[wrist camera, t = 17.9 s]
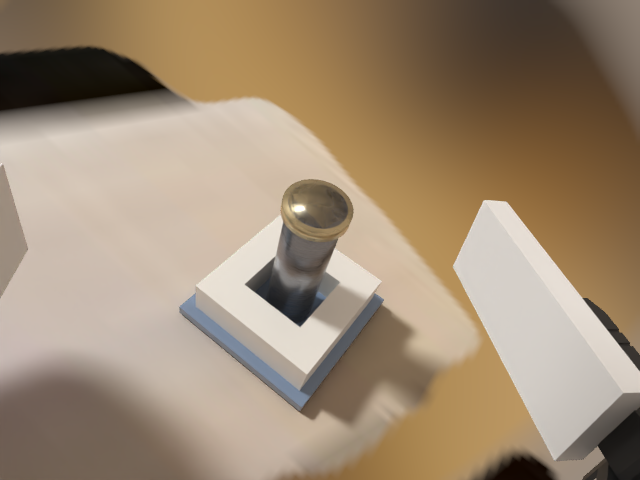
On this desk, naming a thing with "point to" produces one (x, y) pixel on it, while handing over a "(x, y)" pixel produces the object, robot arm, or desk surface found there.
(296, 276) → the grey metal peg
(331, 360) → the socket block
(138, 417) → the desk surface
